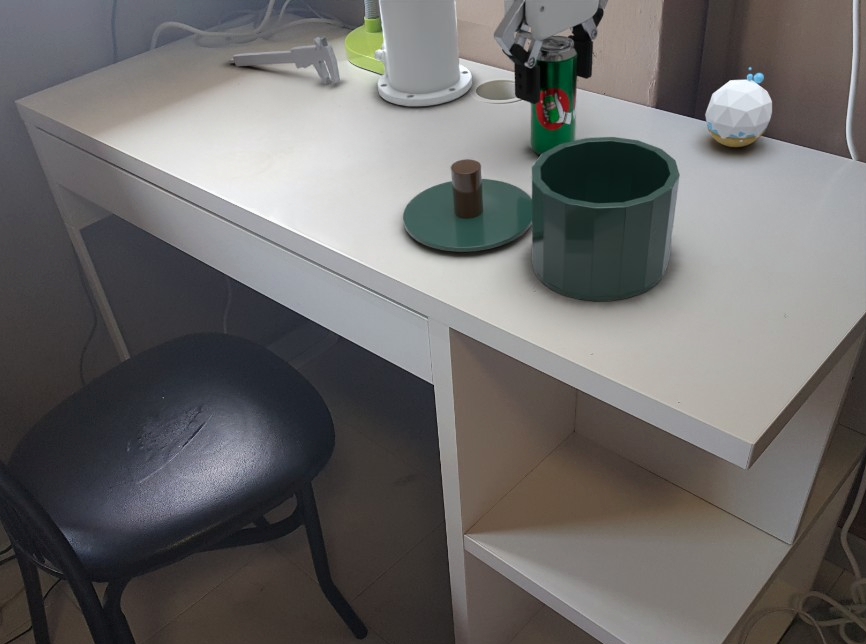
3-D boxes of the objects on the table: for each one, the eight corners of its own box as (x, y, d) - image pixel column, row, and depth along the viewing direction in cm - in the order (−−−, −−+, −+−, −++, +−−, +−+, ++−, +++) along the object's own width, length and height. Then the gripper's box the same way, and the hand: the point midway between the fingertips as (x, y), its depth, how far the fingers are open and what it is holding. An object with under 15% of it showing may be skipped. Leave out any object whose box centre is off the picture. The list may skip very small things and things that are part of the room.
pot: (505, 264, 81) (502, 174, 74) (592, 212, 86) (596, 124, 80) (606, 319, 73) (613, 224, 67) (694, 258, 79) (708, 165, 73)
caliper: (341, 83, 116) (333, 37, 111) (336, 86, 115) (328, 40, 111) (233, 62, 125) (222, 18, 120) (228, 65, 124) (217, 20, 120)
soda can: (549, 134, 100) (550, 30, 91) (583, 146, 97) (587, 40, 89) (521, 151, 97) (520, 45, 89) (556, 163, 94) (557, 55, 86)
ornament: (749, 164, 91) (763, 92, 86) (689, 148, 95) (699, 78, 89) (777, 139, 95) (791, 68, 89) (718, 125, 98) (728, 56, 93)
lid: (377, 223, 88) (369, 170, 84) (472, 175, 94) (469, 123, 90) (465, 273, 80) (462, 217, 76) (562, 216, 86) (564, 161, 82)
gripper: (586, -119, 86) (581, 54, 98) (462, -78, 78) (472, 105, 90) (645, -111, 82) (631, 70, 94) (519, -67, 74) (522, 124, 86)
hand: (553, 86), depth 92 cm, fingers open, 7 cm apart
